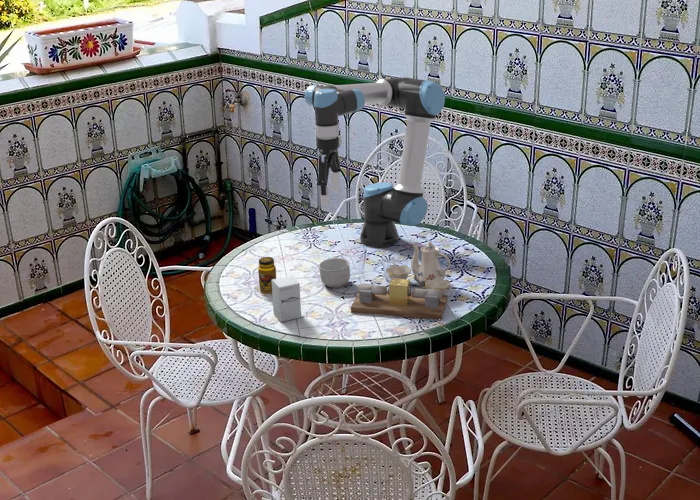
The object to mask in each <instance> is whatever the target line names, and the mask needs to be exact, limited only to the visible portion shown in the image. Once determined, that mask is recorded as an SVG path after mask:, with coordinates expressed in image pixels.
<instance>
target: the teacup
mask: <svg viewBox="0 0 700 500" xmlns="http://www.w3.org/2000/svg"><path fill="white" fill-rule="evenodd" d="M318 269H319V276H320V280H321V283H323V284H324V285H325V286H327V287H329V288H340V287H343V286H345V285H346V284H347V283H348V282H349V280H350V277H351V271H350V261H349V260H347V259H345V258H341V257H338V256H335V255H334V256H332V258H327V259H325V260H323V261H321V262H319V264H318Z"/></svg>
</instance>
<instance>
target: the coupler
mask: <svg viewBox="0 0 700 500" xmlns="http://www.w3.org/2000/svg"><path fill="white" fill-rule="evenodd" d="M387 291H388V295H389V304H398V305H408V302H409V300H410V296H411V293H412V291H413V289H412V288H411V280H410V279H408V278H407V279H394V278H392V279H390V282H389V283H388V286H387Z"/></svg>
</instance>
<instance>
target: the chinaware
mask: <svg viewBox="0 0 700 500" xmlns="http://www.w3.org/2000/svg"><path fill="white" fill-rule="evenodd" d="M412 247H413V248H414V253H413V256H412V259H411V262H410V265H411V266H410V267H411V268H409V266H407V265H406V264H402V265H397V264H392V265H390V267H388V268H386V269H385V270H386V272H387V274H388V277H389V279H390V280H391V279H392V278H394V279H408V278H409V274H410V273H411V272H412V273H413V274H414V278H413V279H414V280H415V282H416V283H417V286H418V285H419V286H418V287H420V288H421V289H440V290H442V295H446V296H448V298H449V297H452V296H453V294H454V293H453V290H452V288H451V287H450V286H451V282H450V280H449V279H445V278H446V273H447V271H448V270H449V269H450V267H451V260H450V258H449V257H448V256H447V254H444V253H441V252H439V250H440V247H439V246H436V245H435V244H433V243H432V242H431V240H429V241H428V243H427V244H425V245H423V246H421V247H420V248H419V247H418V245H417V244H416V243H415V244H413V243H412ZM419 249H420V250H419ZM420 251H421V261H420V263H419V256H420V255H419V254H420ZM442 257H444V258H445V259H446V261H447V268H445V269H443V268H442V267H441V265H440V263H439V259H441V258H442ZM448 291H450V292H451V295H447V294H446V293H448Z"/></svg>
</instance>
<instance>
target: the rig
mask: <svg viewBox="0 0 700 500" xmlns="http://www.w3.org/2000/svg"><path fill="white" fill-rule="evenodd" d="M356 291H357V295H356V297H355V299H354V301H352V304H351V306H350V313H354V314H355V313H356V314H365V315H366V314H367V315H374V316H375V315H377V316H378V315H379V316H390V317H398V318H399V317H402V318H411V319H412V318H413V319H424V320H434V319H438V320H437V321H442V320H441V319H443V317H442V316H444V314H443V313H445V310H446V306H447V304H448V300H449V299H448V298H449V297H448V296H449V295H448V296H446V295H447V294H445V295H442V290H440V289H426V288H417V287H415V288H413V287H412V293H411V296H410V300H409V302H408V305H398V304H389V295H388V286H387V285H376V284H374V283H363V284H361V283H358V284H357V289H356ZM439 319H440V320H439Z"/></svg>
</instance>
